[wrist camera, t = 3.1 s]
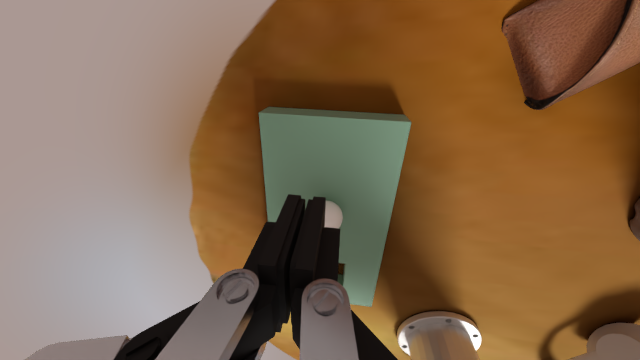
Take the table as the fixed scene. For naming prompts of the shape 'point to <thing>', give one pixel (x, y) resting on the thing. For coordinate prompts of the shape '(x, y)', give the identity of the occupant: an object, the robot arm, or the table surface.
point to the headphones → (613, 343)
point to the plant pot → (636, 221)
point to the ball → (333, 215)
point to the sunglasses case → (571, 45)
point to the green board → (338, 178)
